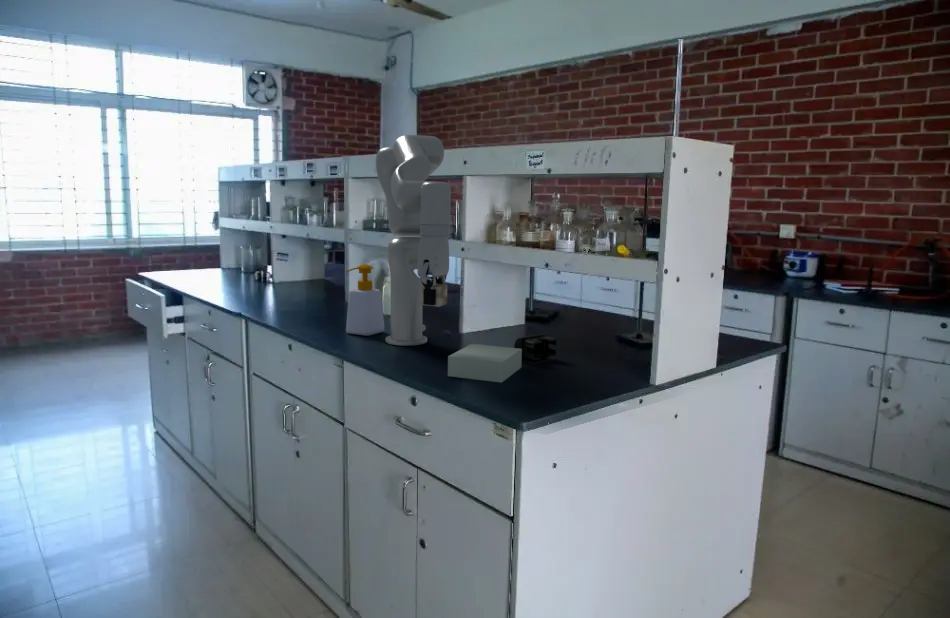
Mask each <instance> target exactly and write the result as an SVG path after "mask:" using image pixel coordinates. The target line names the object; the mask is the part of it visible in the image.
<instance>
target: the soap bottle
mask: <svg viewBox="0 0 950 618" xmlns="http://www.w3.org/2000/svg"><path fill="white" fill-rule="evenodd" d="M373 269H374V267H373V266H372V265H370V264H368V263H361V264H360V265H358V266H357V267H352V268H350V269H347V270H346V273H349V272H351V271H354V270H358V273H359V274H362V279H360V280H357V288H355V289H352V290H350V291H349V293H348V303H347V313H346V326H345V332H346V333H347V334H350V335H357V336H358V335H359V336H363V337H365V336H366V337H369V336H372V335H377V334H379V333H383V332H384V331H385V322H384V319H385V318H384V310H383V301H382V300H383V299H382V292H381V290H380V289H377V288H373V280H370V279H368V277H369V276H368V274H371V273H372V270H373Z"/></svg>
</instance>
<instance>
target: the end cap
mask: <svg viewBox="0 0 950 618" xmlns="http://www.w3.org/2000/svg"><path fill="white" fill-rule="evenodd" d="M513 345H514V347H513V348H518V349H522V360H521V363H525V364H529V365H532V366H533V365H539V364H544V363H549V362H553V361H554V362H555V361H556V356H557V354H558V353H557V349H555V348H551V347H550V345H553V346H557V345H558V338H557V339H556V338H554V337H549V334H548V333H541V334H537V335H536V334H535V335H529V336H523V337H518V338H517V339H516V340H515V341H514V344H513Z"/></svg>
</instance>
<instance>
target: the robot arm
mask: <svg viewBox="0 0 950 618" xmlns="http://www.w3.org/2000/svg"><path fill="white" fill-rule="evenodd" d="M444 155H445V148H444V145H443V142H442V141H441V139H440V138H439V137H436V136H433V135H421V134H420V135H416V134H405V135H402V136H399V137H398V138H396V139H395V141H394V143H393V146H386V147H383V148H380V149H379V150H378V151H377V154H376V157H375V170H376V175H377V178H378V179H377V180H378V181H379V184H380V185H381V188H382V191H383V193H384V197H385V199H386V210H387V218H388V219H387V220H388V225H389V229H390V231H391V233H392V234H393V235H394V236H398V237H396V238H394V239H391V240H390V242H389V243H388V245H387V260H388V266H389V273H390V274H389V278H390V335H388V336H386V337H385V342H386V343H387V344H389V345H393V346H394V345H395V346H407V347H408V346H420V345H423V344H426V343H427V342H428V337H427V336H425V335H423V332H424V331H425V330H426V329H427V327H426V325H425V324H423V305H421V286H422V285H423V289H424V291H423V303H424V304H425V305H424V306H426V305H435V304H436V289H434V288H435V284H445V285H447V284H446V283H447V282H446V280H447V277H448V274H449V270H450V245H449V239H450V238H451V208H452V207H451V199H452V198H451V197H452V191H451V190H452V188H451V185H450V184H449V183H448V182H446V181H445V182H444V181H431V180H428V178H429V176H430V175H431V174H433V173H434V172H435V171H436V170H437V169H438V168H439V167H440V166H441V165H442V163H443V161H444V157H445V156H444ZM427 180H428V181H427ZM416 270H417V273H416V272H415V271H416Z"/></svg>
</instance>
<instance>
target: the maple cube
mask: <svg viewBox="0 0 950 618" xmlns="http://www.w3.org/2000/svg"><path fill="white" fill-rule="evenodd" d="M434 289H436V304H435V305H425V304H424V303H423V291H424V289H423V284H422V286H421V305H422V306H427V307H428V306H429V307H439V308H440V307H442V306H445V305H448V284H446V285H445V284H435V288H434Z"/></svg>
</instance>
